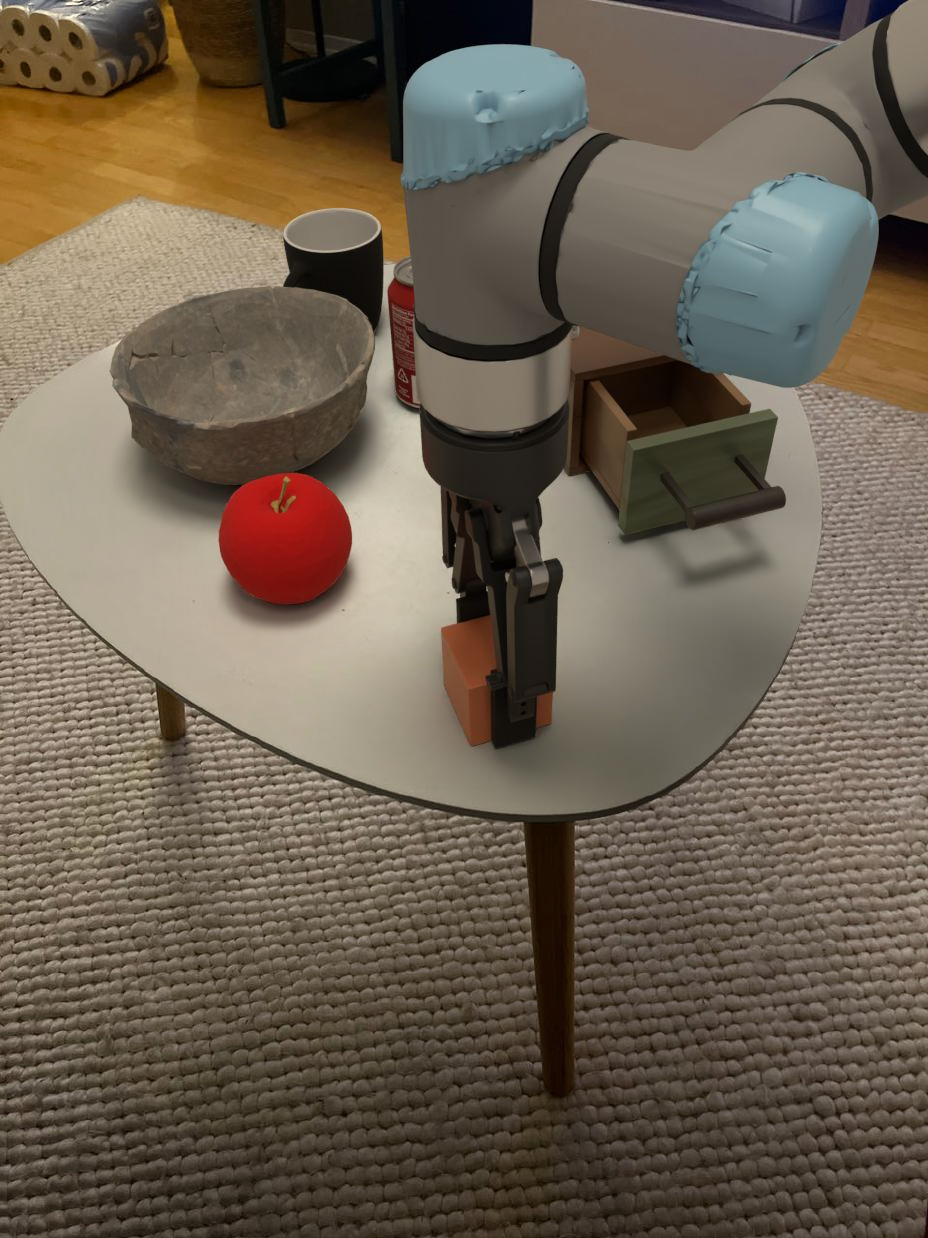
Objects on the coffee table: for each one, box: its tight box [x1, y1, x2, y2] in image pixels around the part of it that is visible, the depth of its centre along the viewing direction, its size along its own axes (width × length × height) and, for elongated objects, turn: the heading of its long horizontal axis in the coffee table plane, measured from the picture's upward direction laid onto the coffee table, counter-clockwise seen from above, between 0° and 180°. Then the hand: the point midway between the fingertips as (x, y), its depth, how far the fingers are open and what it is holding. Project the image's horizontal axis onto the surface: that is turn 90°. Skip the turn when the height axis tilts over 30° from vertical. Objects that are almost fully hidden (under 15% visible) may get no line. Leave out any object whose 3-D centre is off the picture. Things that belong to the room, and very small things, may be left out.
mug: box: [282, 207, 385, 333], centre depth 99 cm, size 12×9×10 cm
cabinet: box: [563, 326, 677, 477], centre depth 89 cm, size 15×13×10 cm
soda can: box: [386, 255, 421, 409], centre depth 91 cm, size 7×7×12 cm
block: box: [440, 615, 554, 747], centre depth 68 cm, size 6×6×6 cm
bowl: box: [109, 285, 376, 486], centre depth 86 cm, size 21×21×10 cm
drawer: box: [579, 360, 787, 536], centre depth 81 cm, size 19×11×8 cm, turn 19°
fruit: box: [218, 472, 353, 605], centre depth 75 cm, size 9×9×10 cm
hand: (496, 701), depth 69 cm, fingers open, 6 cm apart
